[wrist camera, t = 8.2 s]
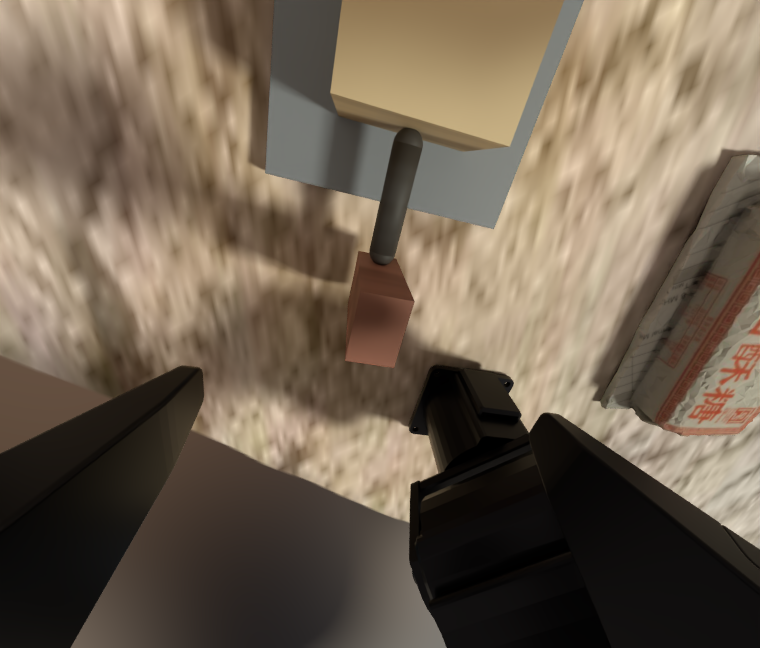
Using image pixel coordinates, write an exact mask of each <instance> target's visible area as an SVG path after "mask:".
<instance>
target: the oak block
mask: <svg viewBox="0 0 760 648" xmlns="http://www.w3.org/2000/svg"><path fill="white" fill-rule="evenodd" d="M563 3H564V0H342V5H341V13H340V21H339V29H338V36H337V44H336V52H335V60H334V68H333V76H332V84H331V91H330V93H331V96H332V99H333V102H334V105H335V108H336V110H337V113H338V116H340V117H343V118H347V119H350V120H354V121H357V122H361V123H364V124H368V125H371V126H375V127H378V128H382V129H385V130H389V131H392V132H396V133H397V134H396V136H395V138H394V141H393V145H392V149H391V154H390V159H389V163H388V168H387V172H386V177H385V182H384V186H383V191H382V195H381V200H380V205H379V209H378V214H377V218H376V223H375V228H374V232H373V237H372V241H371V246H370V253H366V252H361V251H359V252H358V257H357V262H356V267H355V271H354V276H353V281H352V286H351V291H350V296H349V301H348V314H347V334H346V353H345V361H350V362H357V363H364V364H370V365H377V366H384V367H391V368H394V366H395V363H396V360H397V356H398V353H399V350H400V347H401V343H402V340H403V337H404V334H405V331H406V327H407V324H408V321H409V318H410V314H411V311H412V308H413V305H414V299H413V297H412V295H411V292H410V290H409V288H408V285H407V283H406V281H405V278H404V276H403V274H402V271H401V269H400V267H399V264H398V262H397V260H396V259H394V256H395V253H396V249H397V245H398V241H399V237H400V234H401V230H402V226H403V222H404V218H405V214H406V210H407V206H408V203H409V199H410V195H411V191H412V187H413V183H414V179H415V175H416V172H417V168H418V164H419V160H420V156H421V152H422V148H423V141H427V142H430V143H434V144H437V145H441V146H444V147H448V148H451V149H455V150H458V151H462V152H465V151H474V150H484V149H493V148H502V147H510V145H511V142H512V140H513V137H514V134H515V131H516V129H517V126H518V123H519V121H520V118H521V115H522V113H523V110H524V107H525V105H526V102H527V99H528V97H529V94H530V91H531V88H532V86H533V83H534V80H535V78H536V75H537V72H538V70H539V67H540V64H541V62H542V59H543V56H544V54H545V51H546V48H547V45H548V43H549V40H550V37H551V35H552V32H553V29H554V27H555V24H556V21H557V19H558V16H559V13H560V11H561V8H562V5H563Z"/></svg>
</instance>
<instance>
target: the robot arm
mask: <svg viewBox="0 0 760 648" xmlns="http://www.w3.org/2000/svg"><path fill="white" fill-rule="evenodd" d="M437 371H439V373H437V374H434V373H435V372H437ZM506 382H507V383H506ZM505 383H506V384H505ZM513 384H514V382H513V380H512V379H511V378H510V377H509V376H504V375H498V374H495V373H491V372H485V371H478V370H472V369H465V368H463V369H459V368H452V367H446V366H439V365H435V366H433V367H431V368H430V370H429V373H428V375H427V378H426V381H425V383H424V386H423V388H422V391H421V394H420V396H419V399H418V402H417V404H416V407H415V410H414V412H413V415H412V418H411V420H410V423H409V431H410V432H411V433H413V434H420V435H429V439H430V443H431V447H432V450H433V454H434V458H435V461H436V465H437V469H438V474H436V475H434V476H432V477H429V478H427V479H425V480H423V481H421V482H420V481H417V482H414V483H412V484H411V495H410V538H409V539H410V540H409V561H410V565H411V568H412V574H413V578H414V581H415V583H416V584H417V586H418V589H419V591H420V594H421V596H422V599H423V601H424V603H425V605H426V607H427V609H428V610H429V612H430V613H431V615H432V617H433V618H434V619H435V622H436V624H437V626H438V628H439V630H440V632H441V634H442V637H443V639H444V642H445V644H446V647H447V648H760V549H758V548H757V547H755V546H754V545H752V544H751V543H749V542H748V541H746V540H745V539H743V538H742V537H740V536H739V535H737V534H736V533H734V532H733V531H731V530H730V529H728V528H727V527H725V526H723V525H721V524H720V523H719V522H718V521H716V520H715V519H713V518H712V517H710V516H709V515H707V514H706V513H704V512H703V511H702V510H700V509H699V508H697V507H696V506H694V505H693V504H691V503H690V502H688V501H687V500H685V499H684V498H682V497H681V496H679V495H678V494H676V493H675V492H673V491H672V490H670V489H669V488H667V487H666V486H664V485H663V484H662V483H660V482H659V481H657V480H656V479H654V478H653V477H651V476H650V475H648V474H647V473H645V472H644V471H642V470H641V469H639V468H638V467H636V466H635V465H633V464H632V463H630V462H629V461H627V460H626V459H624V458H623V457H621V456H620V455H619V454H617V453H616V452H614V451H613V450H611V449H610V448H608V447H607V446H605V445H604V444H602V443H601V442H599V441H598V440H596V439H595V438H593V437H592V436H590V435H589V434H587V433H586V432H584V431H583V430H581V429H580V428H578V427H577V426H576V425H574V424H573V423H571V422H570V421H568V420H567V419H565V418H564V417H562V416H561V415H559V414H554V413H543V414H541V415H540V417H539V418H538V420H537V421H536V423H535V425H534V426H533V428H532V429H531V431H530V433H529V432H528V431H527V429H526V428H525V426H524V424H523V423H522V421H521V420H520V417H521V416H522V415H521V413H520V411H519V409H518V408H517V406H516V405H515V403H514V402H513V400H512V399H511V397H510V396H509V392H510V390H511V389H512V387H513ZM203 398H204V385H203V372H202V369H201V368H199V367H192V366H180V367H177V368H175V369H173V370H171V371H169V372H167V373H165V374H163V375H161V376H159V377H157V378H155V379H152V380H150V381H148V382H146V383H144V384H142V385H140V386H138V387H136V388H134V389H132V390H130V391H128V392H126V393H124V394H122V395H120V396H118V397H115V398H113V399H111V400H109V401H107V402H105V403H103V404H101V405H99V406H97V407H95V408H93V409H91V410H89V411H87V412H85V413H83V414H81V415H79V416H76V417H74V418H72V419H70V420H68V421H66V422H64V423H62V424H60V425H58V426H56V427H54V428H52V429H50V430H48V431H46V432H43V433H41V434H39V435H37V436H35V437H33V438H31V439H29V440H27V441H25V442H23V443H21V444H19V445H17V446H15V447H13V448H11V449H9V450H7V451H5V452H2V453H1V454H0V648H71V646H72V644H73V642H74V641H75V639H76V637H77V635H78V634H79V632H80V630H81V628H82V627H83V625H84V623H85V622H86V619H87V618H88V616H89V615H90V613H91V611H92V609H93V608H94V606H95V604H96V602H97V601H98V599H99V597H100V595H101V594H102V592H103V590H104V589H105V587H106V585H107V583H108V582H109V580H110V578H111V576H112V575H113V573H114V571H115V569H116V568H117V566H118V564H119V562H120V561H121V559H122V557H123V556H124V554H125V552H126V550H127V549H128V547H129V545H130V543H131V542H132V540H133V538H134V536H135V535H136V533H137V531H138V529H139V528H140V526H141V524H142V522H143V521H144V519H145V517H146V516H147V514H148V512H149V510H150V509H151V507H152V505H153V503H154V502H155V500H156V498H157V496H158V495H159V493H160V491H161V490H162V488H163V486H164V484H165V482H166V481H167V479H168V477H169V475H170V474H171V472H172V470H173V468H174V466H175V464H176V462H177V460H178V458H179V455H180V453H181V451H182V449H183V446H184V444H185V442H186V439H187V437H188V435H189V433H190V430H191V428H192V426H193V424H194V421H195V419H196V417H197V414H198V412H199V410H200V408H201V405H202V402H203ZM414 427H416V428H414Z"/></svg>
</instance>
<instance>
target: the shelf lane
mask: <svg viewBox="0 0 760 648" xmlns="http://www.w3.org/2000/svg"><path fill="white" fill-rule="evenodd" d="M583 1H584V0H564V3H563V5H562V8H561V11H560V13H559V16H558V19H557V21H556V24H555V27H554V29H553V32H552V35H551V37H550V40H549V43H548V45H547V48H546V51H545V54H544V56H543V59H542V62H541V64H540V67H539V70H538V72H537V75H536V78H535V80H534V83H533V86H532V88H531V91H530V94H529V97H528V99H527V102H526V105H525V107H524V110H523V113H522V115H521V118H520V121H519V123H518V126H517V129H516V131H515V134H514V137H513V140H512V142H511V145H510V147H502V148H493V149H484V150H474V151H465V152H462V151H458V150H455V149H451V148H448V147H444V146H441V145H437V144H434V143H430V142H427V141H423V148H422V152H421V156H420V160H419V164H418V168H417V172H416V175H415V179H414V183H413V187H412V191H411V195H410V199H409V203H408V206H407V208H409V209H413V210H417V211H422V212H426V213H430V214H434V215H438V216H442V217H446V218H450V219H454V220H458V221H462V222H466V223H471V224H475V225H479V226H483V227H487V228H491V229H494V227H495V225H496V222H497V220H498V217H499V215H500V212H501V209H502V207H503V204H504V202H505V199H506V197H507V194H508V192H509V189H510V187H511V184H512V182H513V179H514V176H515V174H516V171H517V169H518V166H519V164H520V161H521V159H522V156H523V154H524V151H525V149H526V146H527V143H528V141H529V138H530V136H531V133H532V131H533V128H534V126H535V123H536V121H537V118H538V116H539V113H540V110H541V108H542V105H543V103H544V100H545V98H546V95H547V93H548V90H549V88H550V85H551V83H552V80H553V77H554V75H555V72H556V70H557V67H558V65H559V62H560V60H561V57H562V55H563V52H564V50H565V47H566V44H567V42H568V39H569V37H570V34H571V32H572V29H573V27H574V24H575V22H576V19H577V16H578V14H579V11H580V9H581V6H582V4H583ZM341 5H342V0H274V18H273V37H272V56H271V75H270V94H269V113H268V131H267V150H266V169H265V173H266V174H270V175H274V176H278V177H282V178H287V179H291V180H295V181H299V182H303V183H307V184H311V185H315V186H319V187H323V188H327V189H332V190H336V191H340V192H344V193H348V194H352V195H356V196H360V197H364V198H368V199H372V200H377V201H380V200H381V195H382V191H383V186H384V182H385V177H386V172H387V168H388V163H389V159H390V154H391V149H392V145H393V141H394V138H395V136H396V134H397V133H396V132H392V131H389V130H385V129H382V128H378V127H375V126H371V125H368V124H364V123H361V122H357V121H354V120H350V119H347V118H343V117H340V116H338V113H337V110H336V108H335V105H334V102H333V99H332V96H331V93H330V91H331V84H332V76H333V68H334V60H335V52H336V44H337V36H338V29H339V21H340V13H341Z"/></svg>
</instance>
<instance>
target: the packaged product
mask: <svg viewBox="0 0 760 648" xmlns="http://www.w3.org/2000/svg"><path fill="white" fill-rule="evenodd" d="M600 402H601V406H602V407H604V408H605V409H608V408H615V409H630V408H633V409H634V410H635V412H636V413H635V414H636V415H637V416H638V417H639V418H640V419H641V420H642V421H644V422H646V423H649V424H652V425H656V426H659V427H661V428H662V429H664V430H666V431H671V432H675V433H677V434H679V435H680V436H690V435H697V436H700V435H708V436H723V435H737V434H739V433H740V432H741V431H742V430H743V429H744V428H745V427H746V426H747V425H748V423H750V422H752V421H753V419H754V418H755V417H756V416H757V415H758V414H759V412H760V155H741V156H733V157H732V158H731V160H730V161H729V163H728V165H727V167H726V168H725V170H724V172H723V174H722V175H721V177H720V179H719V181H718V182H717V184H716V186H715V188H714V189H713V191H712V193H711V195H710V198H709V200H708V202H707V205H706V207H705V209H704V212H703V214H702V216H701V218H700V221H699V223H698V225H697V228H696V230H695V231H694V233H693V234H692V235H691V237H690V238H689V239H688V241H687V242H686V243H685V246H684V248H683V249H682V251H681V253H680V255H679V256H678V258H677V260H676V262H675V263H674V265H673V267H672V269H671V271H670V272H669V274H668V276H667V278H666V279H665V281H664V283H663V285H662V286H661V288H660V290H659V292H658V294H657V296H656V298H655V299H654V301H653V303H652V304H651V306H650V308H649V309H648V311H647V313H646V314H645V316H644V317H643V319H642V321H641V323H640V325H639V328H638V329H637V331H636V333H635V335H634V337H633V340H632V342H631V344H630V347H629V349H628V350H627V352H626V354H625V356H624V358H623V360H622V362H621V364H620V367H619V369H618V371H617V373H616V374H615V376H614V378H613V379H612V381H611V383H610V384H609V386H608V387H607V389H606V391H605V393H604V395H603V397H602V399H601V401H600Z"/></svg>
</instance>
